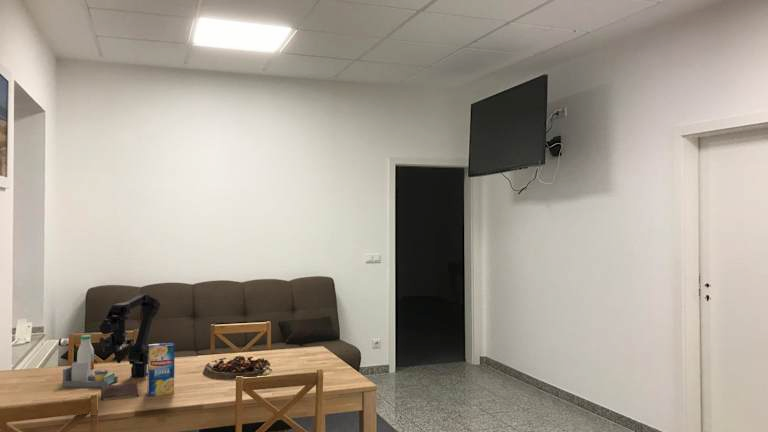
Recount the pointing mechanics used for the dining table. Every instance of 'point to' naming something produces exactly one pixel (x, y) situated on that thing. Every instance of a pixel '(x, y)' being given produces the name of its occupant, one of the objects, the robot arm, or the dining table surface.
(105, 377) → the bar
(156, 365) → the blue yellow food box
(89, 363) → the milk bottle
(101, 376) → the jar
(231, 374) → the food dish
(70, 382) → the lane
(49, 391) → the dining table surface
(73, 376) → the grey angular block
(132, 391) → the notebook
